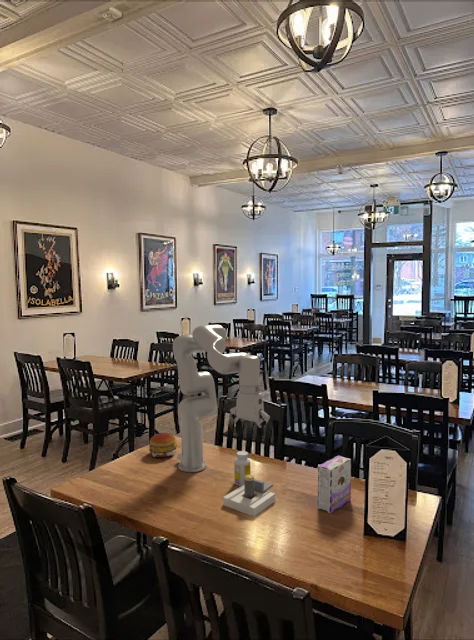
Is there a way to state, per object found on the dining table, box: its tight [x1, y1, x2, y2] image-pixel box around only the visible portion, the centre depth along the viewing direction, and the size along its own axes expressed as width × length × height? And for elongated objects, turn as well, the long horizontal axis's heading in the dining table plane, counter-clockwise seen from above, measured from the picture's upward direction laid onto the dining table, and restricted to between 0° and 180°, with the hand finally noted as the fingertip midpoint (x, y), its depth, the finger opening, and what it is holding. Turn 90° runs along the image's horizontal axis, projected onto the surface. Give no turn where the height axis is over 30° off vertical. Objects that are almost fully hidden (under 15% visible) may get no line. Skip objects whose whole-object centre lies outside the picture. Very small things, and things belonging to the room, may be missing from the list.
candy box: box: [317, 455, 352, 514], centre depth 164 cm, size 14×6×16 cm, turn 134°
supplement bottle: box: [233, 450, 252, 487], centre depth 182 cm, size 7×7×13 cm
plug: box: [244, 474, 255, 499], centre depth 165 cm, size 4×4×10 cm
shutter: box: [254, 478, 274, 493], centre depth 171 cm, size 7×7×4 cm
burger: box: [148, 432, 178, 458], centre depth 214 cm, size 13×14×10 cm
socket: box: [222, 485, 276, 517], centre depth 166 cm, size 14×14×3 cm
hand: (249, 434), depth 164 cm, fingers open, 9 cm apart
